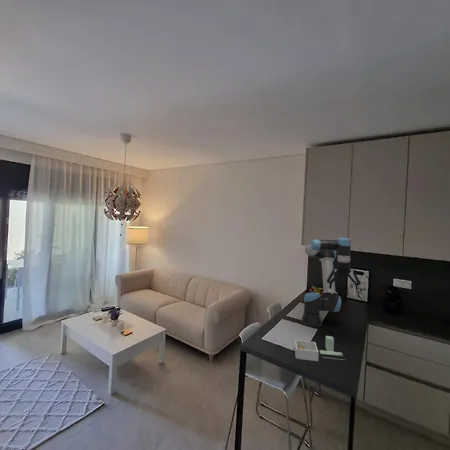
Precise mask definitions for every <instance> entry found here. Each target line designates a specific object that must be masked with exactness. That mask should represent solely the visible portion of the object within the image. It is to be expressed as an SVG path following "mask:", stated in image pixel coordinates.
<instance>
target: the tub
mask: <svg viewBox="0 0 450 450" xmlns="http://www.w3.org/2000/svg"><path fill="white" fill-rule="evenodd" d="M298 346H303V347H304V349H298ZM294 355H295V359H297V360H305V361H313V362H319V349H318V347H317V343H316V342H315V341H306V340H300V339H299V340H298V339H294Z"/></svg>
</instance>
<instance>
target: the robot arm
mask: <svg viewBox="0 0 450 450" xmlns="http://www.w3.org/2000/svg"><path fill="white" fill-rule="evenodd" d="M351 241H352V240H351V238H348V237H347V238H346V237H339V238H338V239H319V238H318V239H317V238H316V239H312V240H311V243H310V244H307V245H306V246H305V248H304V249H305V251H304V252H305V254H306V255H308V257H311V258H316V259H318V260H319V261H320V262H321V270H322V271H321V272H322V287H323V288H322V289H323V291H322V292H321V294H320V292H315V291H314V292H313V291H312V292H308V293H305V294H304V299H303V302H304V304H303V314H302V317H301V320H300V321H301V323H302V324H303V325H304V326H306V327H312V328H320V327H322V326H323V321H322V318H321V314H320V313H321V312H331V313H333V312H334V313H336V312H340V310H341V308H342V307H341V306H342V297H341V296H339V294H338V292H337V291H336V284H335V281H336V280H337V279H338V278H339V277H348V278H349V279H350V281H351V282H352V283H353V286H352V295H353V296H354V297H355V296H357V295H356V291H358V285H359V286H361V285H362V283H361V281H360V279H359V277H358V276H357V274H356V270H355V269H351V263H350V262H351V249H352V248H351V245H352V243H351ZM336 258H337V262H336V263H337V268H334V263H333V262H334V261H335V259H336ZM335 273H336V274H335ZM350 273H352V274H353V277H354V278H353V277H352V275H351V274H350ZM354 279H355V280H354Z"/></svg>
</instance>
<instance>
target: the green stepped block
mask: <svg viewBox="0 0 450 450" xmlns="http://www.w3.org/2000/svg"><path fill="white" fill-rule="evenodd" d="M334 346H335V339H334V337H333V336H330V335H325V346H324V347H325V350H323V349H321V350H319V353H320V355H328V356H334V357H335V356H337V357H341V356H344V355H343V353H342V352H338V351H334V349H335V347H334ZM334 357H330V359H332V360H336V358H334ZM322 358H324V359H328V357H325V356H322ZM338 360H341V361H345V359H343V358H342V359H341V358H338Z"/></svg>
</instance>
